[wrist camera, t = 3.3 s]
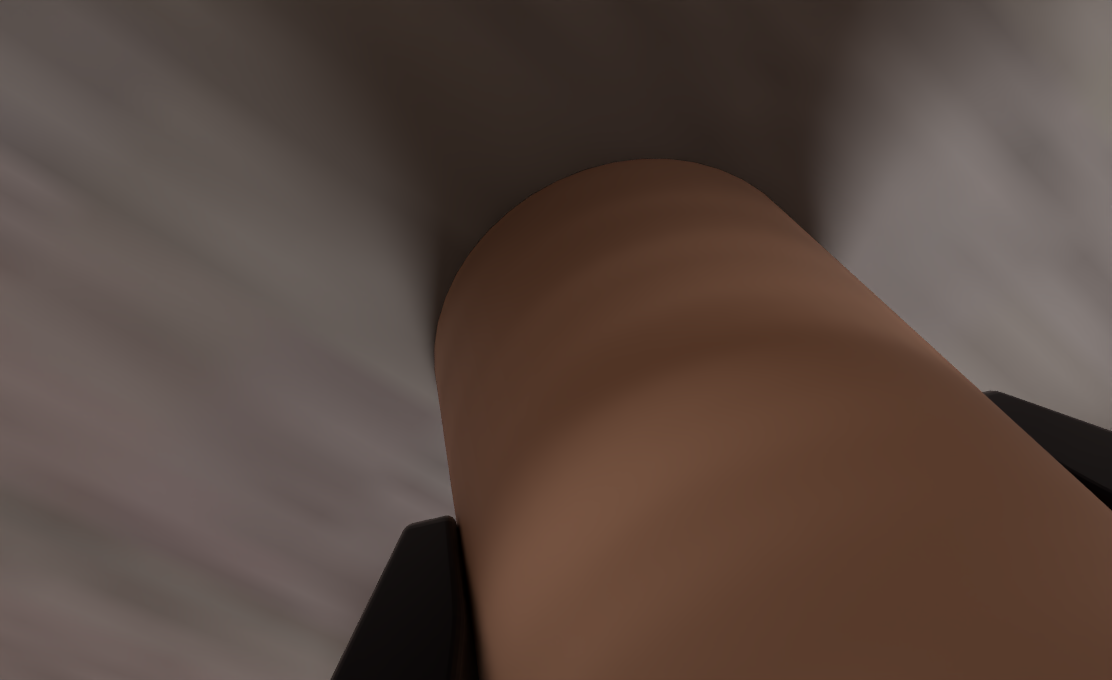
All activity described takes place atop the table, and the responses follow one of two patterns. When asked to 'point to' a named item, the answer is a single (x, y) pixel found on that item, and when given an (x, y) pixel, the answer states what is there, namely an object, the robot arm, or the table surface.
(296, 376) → the table surface
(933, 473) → the peg
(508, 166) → the table surface
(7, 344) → the table surface
